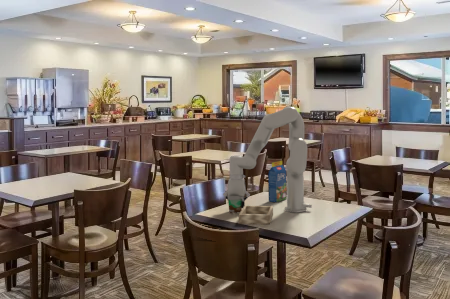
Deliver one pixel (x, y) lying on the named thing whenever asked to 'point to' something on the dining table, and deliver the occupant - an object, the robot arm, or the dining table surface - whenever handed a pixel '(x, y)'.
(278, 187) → the blue food package
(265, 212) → the birch box
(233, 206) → the food container
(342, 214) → the dining table surface
